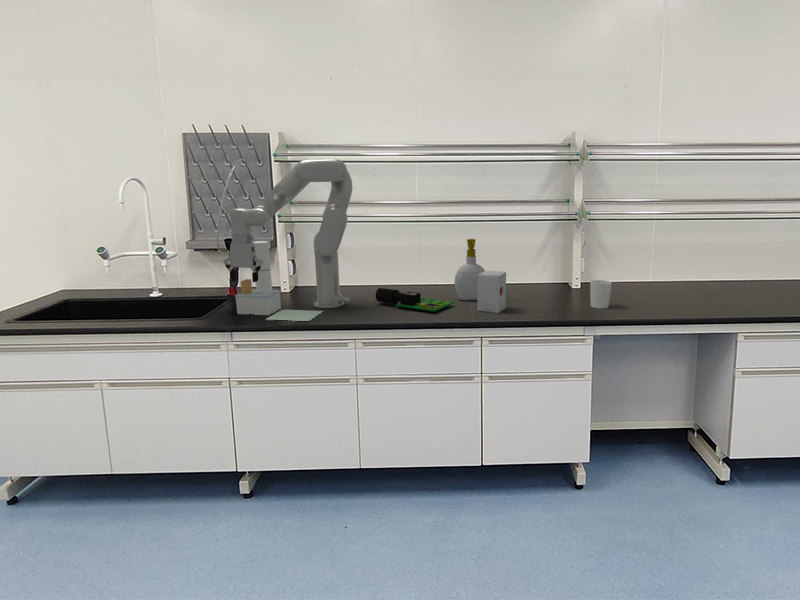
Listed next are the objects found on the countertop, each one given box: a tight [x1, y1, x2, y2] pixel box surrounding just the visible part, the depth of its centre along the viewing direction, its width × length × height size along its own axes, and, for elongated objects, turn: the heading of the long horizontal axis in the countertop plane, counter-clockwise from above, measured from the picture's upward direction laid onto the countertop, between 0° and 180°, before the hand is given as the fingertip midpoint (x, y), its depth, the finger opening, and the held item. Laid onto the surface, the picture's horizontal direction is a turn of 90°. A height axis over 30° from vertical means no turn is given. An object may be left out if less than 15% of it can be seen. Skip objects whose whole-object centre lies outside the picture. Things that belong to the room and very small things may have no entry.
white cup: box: [589, 279, 612, 309], centre depth 220 cm, size 8×8×10 cm
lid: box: [234, 278, 282, 298], centre depth 226 cm, size 14×11×7 cm
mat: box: [265, 309, 324, 322], centre depth 219 cm, size 18×15×1 cm
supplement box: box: [476, 270, 507, 314], centre depth 219 cm, size 9×9×15 cm
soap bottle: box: [454, 238, 486, 301], centre depth 235 cm, size 14×9×26 cm, turn 96°
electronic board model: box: [375, 287, 455, 312], centre depth 230 cm, size 30×7×15 cm
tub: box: [235, 292, 282, 316], centre depth 227 cm, size 14×11×7 cm
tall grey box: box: [253, 240, 273, 290], centre depth 252 cm, size 7×7×25 cm
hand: (244, 281), depth 226 cm, fingers open, 9 cm apart
